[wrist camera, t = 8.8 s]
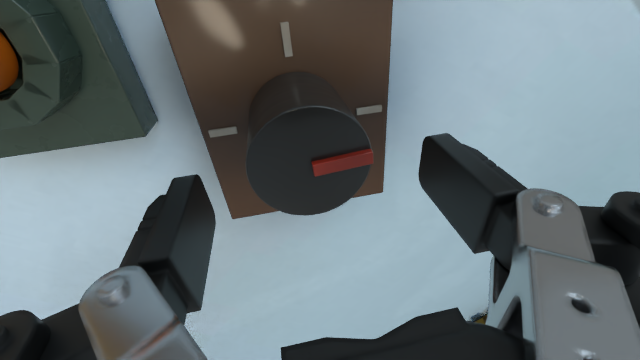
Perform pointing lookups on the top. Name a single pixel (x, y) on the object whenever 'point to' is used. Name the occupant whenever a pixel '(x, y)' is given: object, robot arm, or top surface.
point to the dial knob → (304, 146)
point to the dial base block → (278, 71)
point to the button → (7, 64)
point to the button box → (68, 78)
